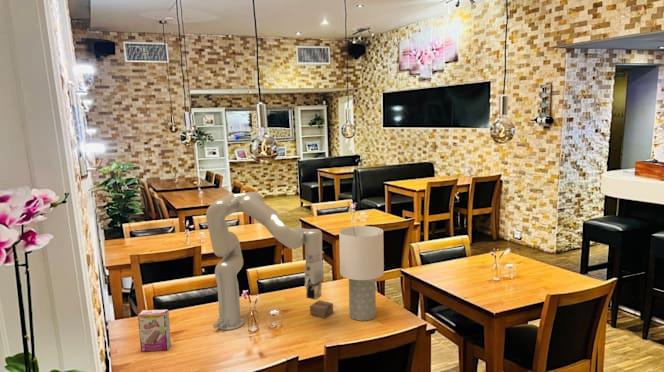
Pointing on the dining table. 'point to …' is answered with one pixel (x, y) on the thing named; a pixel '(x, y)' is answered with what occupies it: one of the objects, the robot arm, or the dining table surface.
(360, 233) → the lamp
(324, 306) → the walnut base
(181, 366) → the dining table surface
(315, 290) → the oak block
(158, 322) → the candy bar box
